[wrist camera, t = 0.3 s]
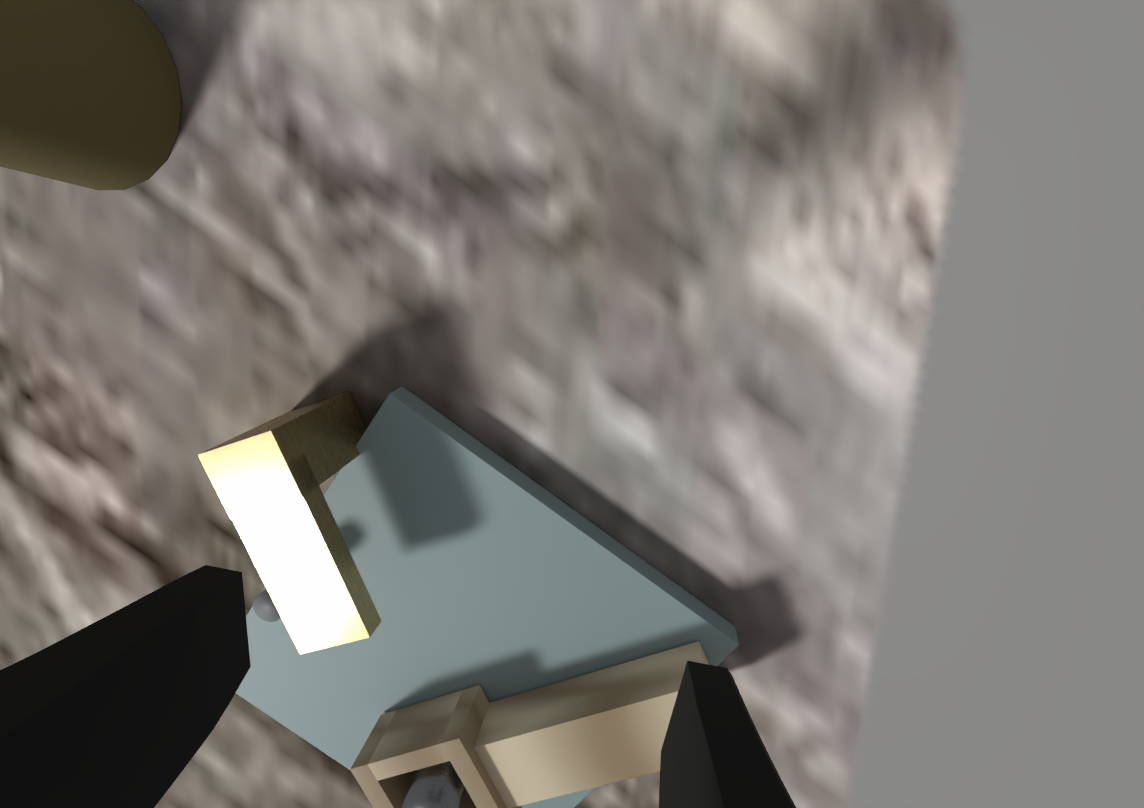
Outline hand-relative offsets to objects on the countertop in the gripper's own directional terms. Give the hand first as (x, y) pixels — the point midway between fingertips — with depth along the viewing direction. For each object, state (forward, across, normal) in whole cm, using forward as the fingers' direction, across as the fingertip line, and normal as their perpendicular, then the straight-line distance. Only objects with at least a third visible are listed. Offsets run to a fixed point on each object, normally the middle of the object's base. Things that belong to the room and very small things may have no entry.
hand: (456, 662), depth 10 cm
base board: (+10, +2, +10) cm, 14 cm away
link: (+8, -2, +11) cm, 14 cm away
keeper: (+10, +6, +4) cm, 13 cm away
